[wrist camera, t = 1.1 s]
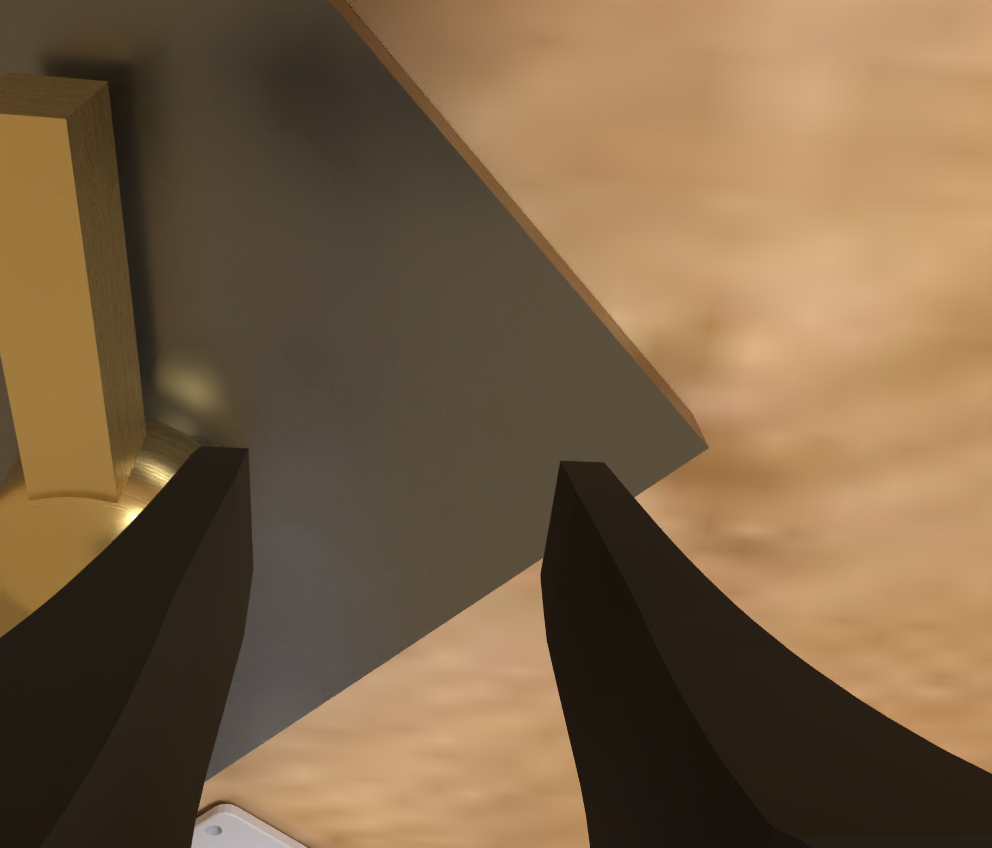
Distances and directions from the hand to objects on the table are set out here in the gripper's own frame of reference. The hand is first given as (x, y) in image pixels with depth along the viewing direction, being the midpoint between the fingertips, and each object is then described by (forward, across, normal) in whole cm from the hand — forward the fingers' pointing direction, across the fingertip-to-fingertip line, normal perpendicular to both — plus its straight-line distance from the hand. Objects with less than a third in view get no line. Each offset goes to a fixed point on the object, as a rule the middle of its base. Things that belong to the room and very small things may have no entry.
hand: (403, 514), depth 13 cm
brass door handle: (+8, +6, +2) cm, 10 cm away
